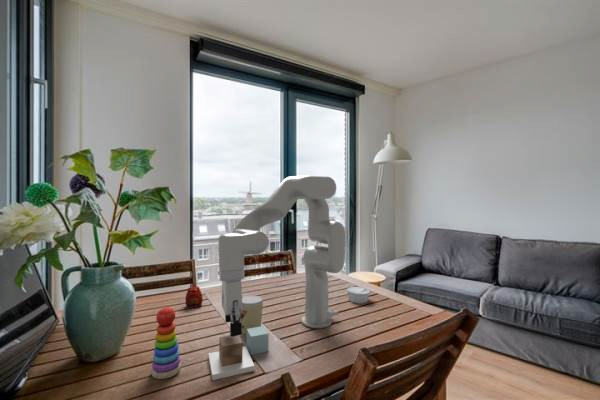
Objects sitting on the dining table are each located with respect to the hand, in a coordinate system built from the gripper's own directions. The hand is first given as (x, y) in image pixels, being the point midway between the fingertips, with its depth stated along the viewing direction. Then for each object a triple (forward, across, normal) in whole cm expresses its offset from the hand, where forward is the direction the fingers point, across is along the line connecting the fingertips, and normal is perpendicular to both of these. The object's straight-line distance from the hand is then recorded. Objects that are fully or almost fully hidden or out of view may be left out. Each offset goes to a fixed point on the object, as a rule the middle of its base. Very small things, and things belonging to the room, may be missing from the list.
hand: (233, 328), depth 89 cm
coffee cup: (+12, -20, +10) cm, 25 cm away
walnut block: (+9, 0, -1) cm, 9 cm away
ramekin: (+14, -32, +68) cm, 76 cm away
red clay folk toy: (+12, -54, -9) cm, 56 cm away
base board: (+11, 0, -1) cm, 11 cm away
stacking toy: (+10, -2, -19) cm, 22 cm away
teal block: (+11, -6, +9) cm, 15 cm away
